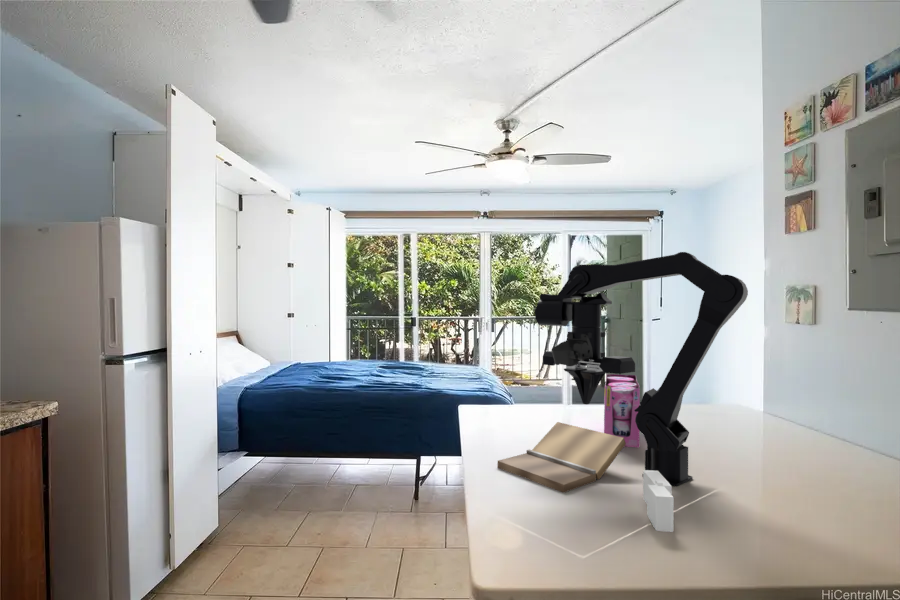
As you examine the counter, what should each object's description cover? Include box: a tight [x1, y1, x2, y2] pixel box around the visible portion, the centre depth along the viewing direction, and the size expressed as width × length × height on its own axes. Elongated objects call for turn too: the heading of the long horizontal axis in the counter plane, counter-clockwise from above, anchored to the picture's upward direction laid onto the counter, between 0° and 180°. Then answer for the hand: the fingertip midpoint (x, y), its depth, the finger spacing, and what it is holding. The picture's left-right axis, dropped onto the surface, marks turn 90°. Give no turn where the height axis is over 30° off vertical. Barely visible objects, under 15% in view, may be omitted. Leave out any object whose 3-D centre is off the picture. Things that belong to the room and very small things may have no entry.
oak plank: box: [532, 421, 626, 480], centre depth 98 cm, size 16×10×2 cm, turn 38°
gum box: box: [603, 373, 641, 448], centre depth 121 cm, size 24×8×14 cm, turn 161°
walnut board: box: [497, 448, 597, 493], centre depth 92 cm, size 16×9×2 cm, turn 38°
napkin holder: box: [642, 469, 675, 533], centre depth 75 cm, size 15×11×6 cm
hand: (586, 403), depth 100 cm, fingers closed
